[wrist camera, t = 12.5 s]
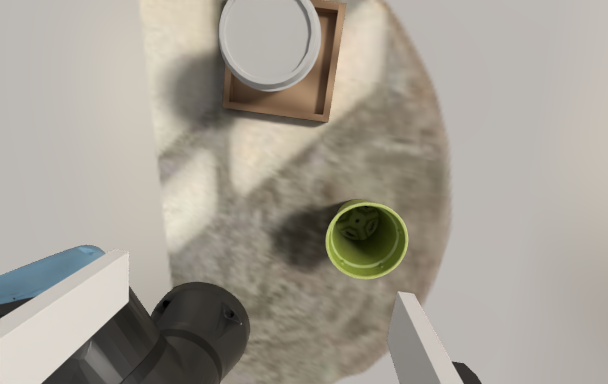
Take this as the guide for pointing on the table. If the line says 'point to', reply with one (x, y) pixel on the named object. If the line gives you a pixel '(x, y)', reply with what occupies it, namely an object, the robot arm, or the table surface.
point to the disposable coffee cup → (269, 41)
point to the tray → (311, 89)
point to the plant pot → (366, 239)
